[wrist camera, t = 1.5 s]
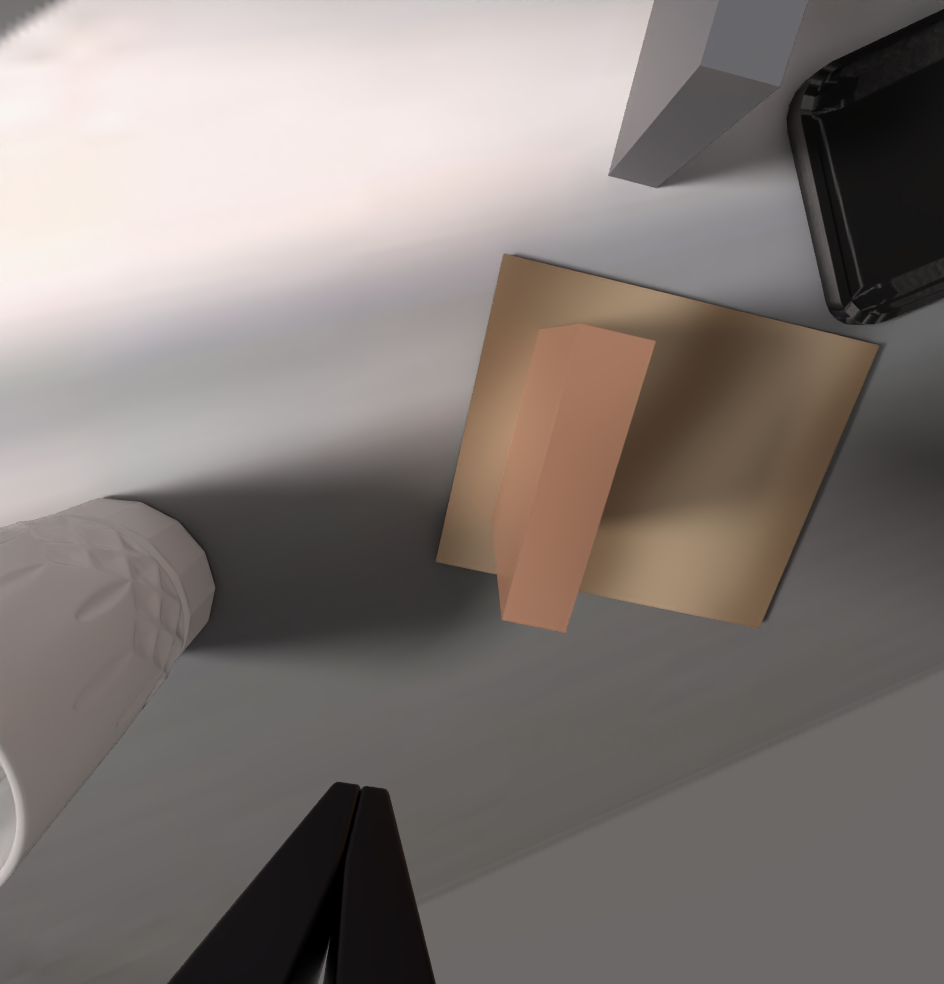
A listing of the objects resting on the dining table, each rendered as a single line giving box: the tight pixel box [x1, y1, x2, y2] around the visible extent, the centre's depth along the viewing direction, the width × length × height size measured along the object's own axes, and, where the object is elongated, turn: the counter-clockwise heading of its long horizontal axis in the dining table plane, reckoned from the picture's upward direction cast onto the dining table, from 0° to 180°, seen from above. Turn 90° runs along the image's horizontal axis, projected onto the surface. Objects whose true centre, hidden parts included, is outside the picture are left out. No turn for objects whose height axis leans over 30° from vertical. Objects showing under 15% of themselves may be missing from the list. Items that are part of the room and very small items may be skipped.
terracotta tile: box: [491, 323, 656, 633], centre depth 15 cm, size 2×7×7 cm, turn 167°
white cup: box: [0, 498, 215, 887], centre depth 16 cm, size 8×8×10 cm
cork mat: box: [436, 254, 880, 628], centre depth 19 cm, size 13×11×1 cm
